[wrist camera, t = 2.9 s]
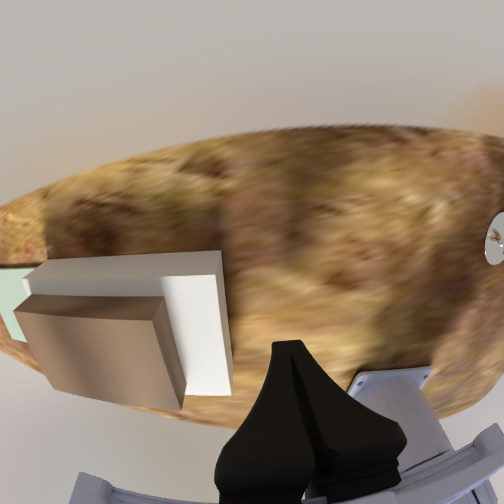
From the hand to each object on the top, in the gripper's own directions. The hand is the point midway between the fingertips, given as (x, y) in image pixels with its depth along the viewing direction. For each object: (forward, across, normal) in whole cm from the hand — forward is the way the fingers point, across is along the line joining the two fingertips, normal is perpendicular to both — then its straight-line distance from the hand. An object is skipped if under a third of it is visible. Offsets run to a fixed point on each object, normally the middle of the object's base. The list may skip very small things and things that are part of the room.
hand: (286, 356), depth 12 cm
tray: (+4, +9, 0) cm, 10 cm away
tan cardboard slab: (+1, +10, 0) cm, 10 cm away
